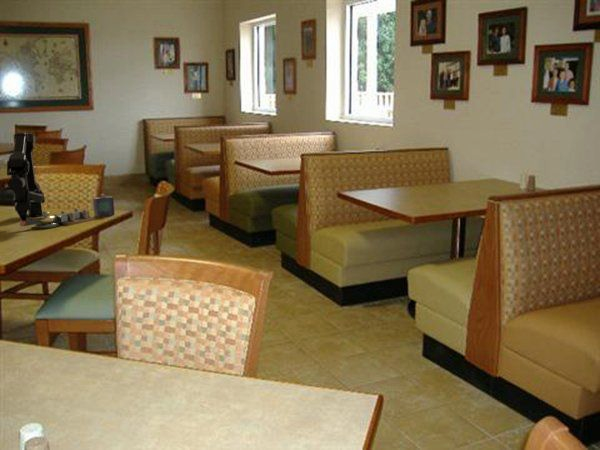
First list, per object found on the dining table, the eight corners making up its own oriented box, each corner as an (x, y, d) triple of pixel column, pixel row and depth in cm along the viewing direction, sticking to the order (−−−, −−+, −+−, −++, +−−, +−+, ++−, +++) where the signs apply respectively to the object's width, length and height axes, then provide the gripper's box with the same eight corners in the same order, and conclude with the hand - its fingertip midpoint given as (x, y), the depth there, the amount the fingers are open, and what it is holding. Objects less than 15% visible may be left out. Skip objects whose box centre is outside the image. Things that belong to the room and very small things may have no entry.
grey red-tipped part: (50, 219, 275) (50, 214, 275) (58, 221, 271) (57, 216, 270) (16, 225, 264) (16, 219, 264) (24, 228, 260) (23, 222, 259)
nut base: (30, 227, 270) (28, 212, 268) (50, 222, 278) (48, 208, 276) (44, 229, 264) (42, 215, 263) (64, 225, 272) (62, 211, 271)
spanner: (54, 220, 274) (53, 214, 274) (83, 215, 287) (83, 209, 286) (61, 222, 271) (61, 215, 271) (90, 217, 284) (90, 210, 284)
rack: (55, 223, 277) (54, 212, 276) (81, 217, 289) (80, 206, 287) (68, 225, 272) (67, 214, 271) (94, 219, 284) (93, 209, 283)
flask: (94, 217, 288) (92, 195, 286) (94, 216, 291) (92, 194, 289) (115, 215, 292) (113, 193, 290) (114, 214, 295) (112, 192, 292)
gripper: (42, 189, 256) (46, 225, 260) (39, 181, 272) (43, 215, 276) (13, 191, 251) (17, 228, 255) (11, 183, 268) (15, 218, 272)
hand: (24, 222), depth 265 cm, fingers closed
